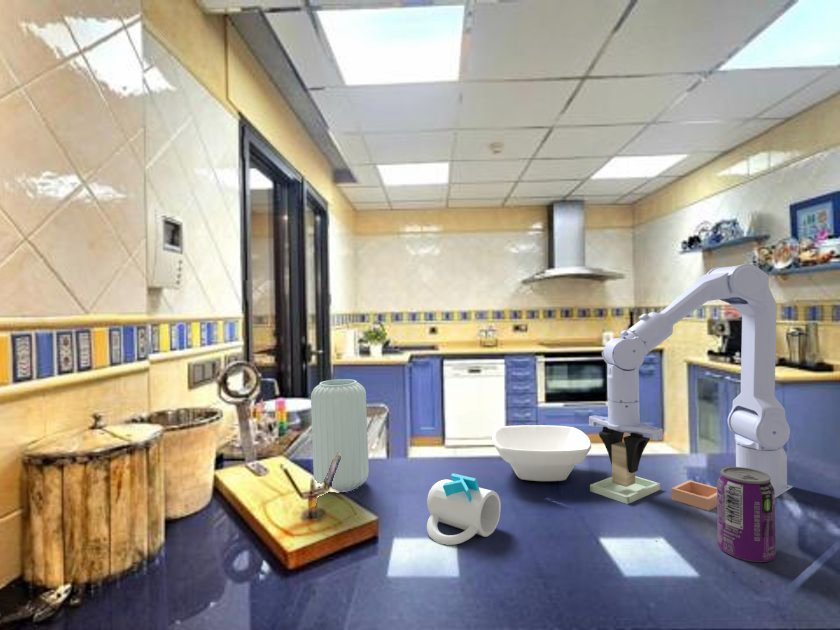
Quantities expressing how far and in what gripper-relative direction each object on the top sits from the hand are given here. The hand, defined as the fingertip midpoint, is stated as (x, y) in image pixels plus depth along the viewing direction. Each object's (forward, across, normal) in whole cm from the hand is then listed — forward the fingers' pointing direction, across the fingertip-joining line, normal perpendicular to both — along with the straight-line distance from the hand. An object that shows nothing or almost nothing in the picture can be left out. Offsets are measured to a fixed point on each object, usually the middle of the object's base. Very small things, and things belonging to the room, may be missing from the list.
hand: (624, 469), depth 96 cm
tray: (+5, 0, 0) cm, 5 cm away
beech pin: (+3, 0, 0) cm, 3 cm away
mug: (+5, -9, -36) cm, 37 cm away
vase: (+5, -39, -42) cm, 58 cm away
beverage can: (+5, +24, -7) cm, 25 cm away
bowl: (+5, -17, -5) cm, 18 cm away
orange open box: (+5, +11, +6) cm, 13 cm away
